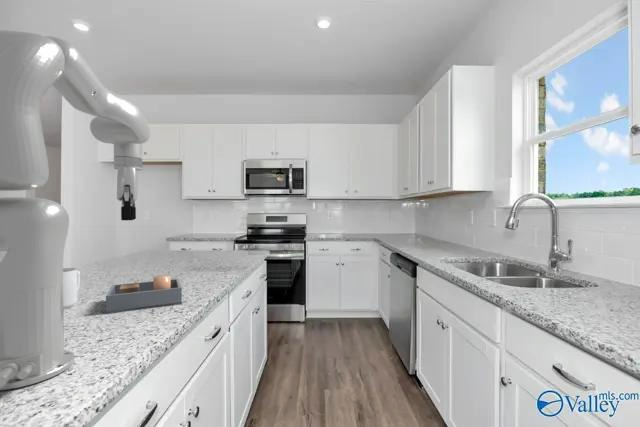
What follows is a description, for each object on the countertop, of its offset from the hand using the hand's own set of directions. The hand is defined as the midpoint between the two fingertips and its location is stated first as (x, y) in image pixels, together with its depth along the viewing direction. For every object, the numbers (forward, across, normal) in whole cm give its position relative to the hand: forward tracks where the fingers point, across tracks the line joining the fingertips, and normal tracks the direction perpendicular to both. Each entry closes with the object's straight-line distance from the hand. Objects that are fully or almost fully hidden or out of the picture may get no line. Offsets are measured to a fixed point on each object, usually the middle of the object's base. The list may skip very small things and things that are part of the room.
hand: (128, 219), depth 97 cm
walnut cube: (+26, 0, 0) cm, 26 cm away
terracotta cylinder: (+26, 0, +9) cm, 27 cm away
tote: (+26, 0, +4) cm, 27 cm away
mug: (+26, -8, -18) cm, 33 cm away
